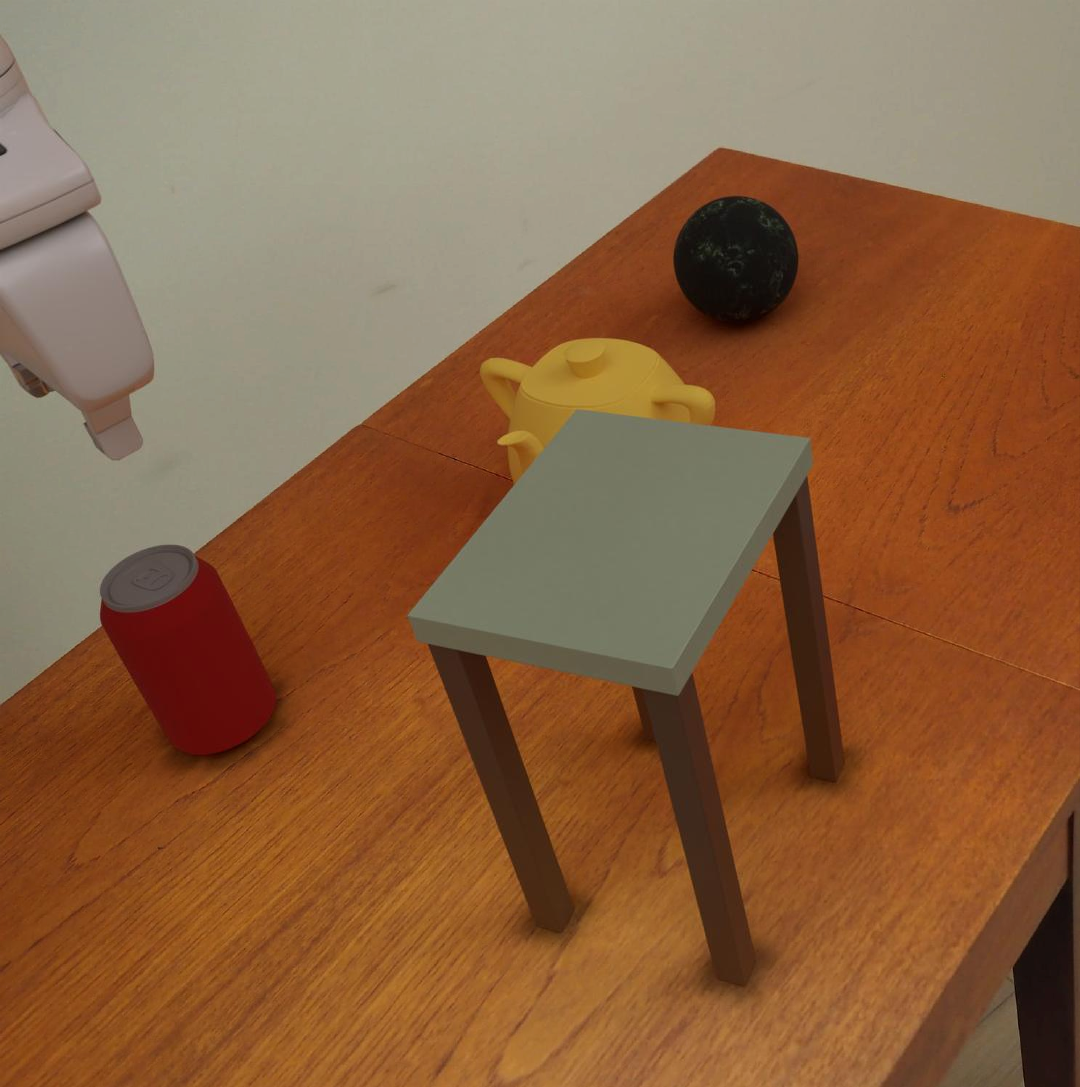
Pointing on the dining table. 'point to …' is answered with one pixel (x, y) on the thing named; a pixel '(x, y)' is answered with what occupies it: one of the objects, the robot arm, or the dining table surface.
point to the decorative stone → (736, 259)
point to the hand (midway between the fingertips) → (82, 418)
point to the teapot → (587, 392)
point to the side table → (633, 622)
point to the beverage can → (186, 649)
